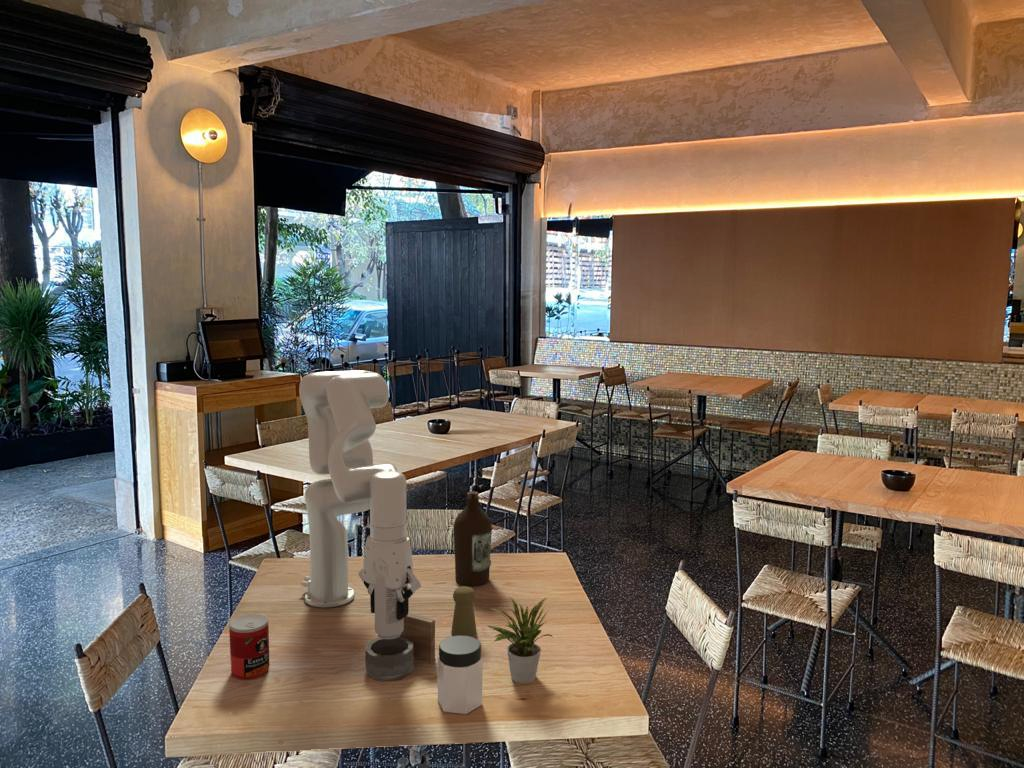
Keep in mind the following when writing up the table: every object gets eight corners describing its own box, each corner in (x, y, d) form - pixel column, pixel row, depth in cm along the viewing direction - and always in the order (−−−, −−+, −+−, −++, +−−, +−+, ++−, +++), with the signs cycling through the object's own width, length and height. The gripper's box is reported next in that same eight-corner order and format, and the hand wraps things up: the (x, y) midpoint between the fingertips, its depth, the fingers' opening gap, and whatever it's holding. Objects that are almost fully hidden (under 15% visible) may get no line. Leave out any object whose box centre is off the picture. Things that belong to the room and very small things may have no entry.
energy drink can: (392, 625, 162) (392, 558, 160) (409, 634, 158) (409, 566, 156) (369, 633, 158) (368, 565, 156) (385, 643, 154) (385, 573, 152)
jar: (460, 686, 152) (460, 630, 151) (490, 700, 147) (491, 643, 145) (428, 704, 145) (428, 646, 144) (458, 720, 140) (458, 659, 139)
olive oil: (445, 579, 208) (445, 492, 205) (474, 570, 216) (474, 485, 213) (470, 590, 201) (471, 500, 198) (499, 580, 208) (500, 493, 205)
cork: (473, 640, 172) (473, 594, 171) (447, 637, 174) (448, 592, 172) (479, 628, 178) (479, 584, 177) (455, 626, 179) (455, 582, 178)
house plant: (513, 651, 167) (514, 581, 165) (568, 668, 160) (570, 595, 158) (478, 679, 155) (478, 604, 153) (536, 698, 148) (537, 620, 146)
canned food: (247, 684, 152) (246, 633, 151) (222, 673, 156) (220, 623, 155) (277, 668, 158) (276, 619, 157) (252, 658, 163) (251, 610, 161)
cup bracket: (398, 686, 152) (398, 644, 151) (352, 672, 157) (351, 631, 156) (434, 658, 163) (434, 619, 162) (390, 646, 169) (390, 608, 168)
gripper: (344, 529, 156) (345, 612, 158) (412, 543, 148) (412, 629, 150) (367, 520, 162) (368, 599, 165) (433, 532, 154) (433, 615, 157)
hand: (389, 613), depth 157 cm, fingers closed on energy drink can, 6 cm apart
